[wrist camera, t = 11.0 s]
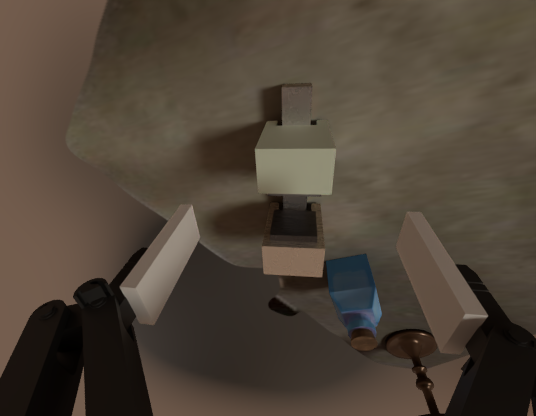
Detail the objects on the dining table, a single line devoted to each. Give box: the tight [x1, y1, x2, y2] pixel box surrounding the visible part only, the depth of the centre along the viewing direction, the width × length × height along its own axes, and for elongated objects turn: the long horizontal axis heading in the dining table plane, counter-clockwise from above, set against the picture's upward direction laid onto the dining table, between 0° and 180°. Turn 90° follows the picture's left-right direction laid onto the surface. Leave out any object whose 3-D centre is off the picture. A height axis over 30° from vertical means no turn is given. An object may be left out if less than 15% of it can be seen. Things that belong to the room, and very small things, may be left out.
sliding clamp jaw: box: [255, 120, 336, 196], centre depth 27 cm, size 5×7×9 cm
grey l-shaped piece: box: [262, 83, 325, 277], centre depth 29 cm, size 22×7×10 cm, turn 2°
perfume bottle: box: [326, 254, 382, 350], centre depth 37 cm, size 6×6×12 cm
